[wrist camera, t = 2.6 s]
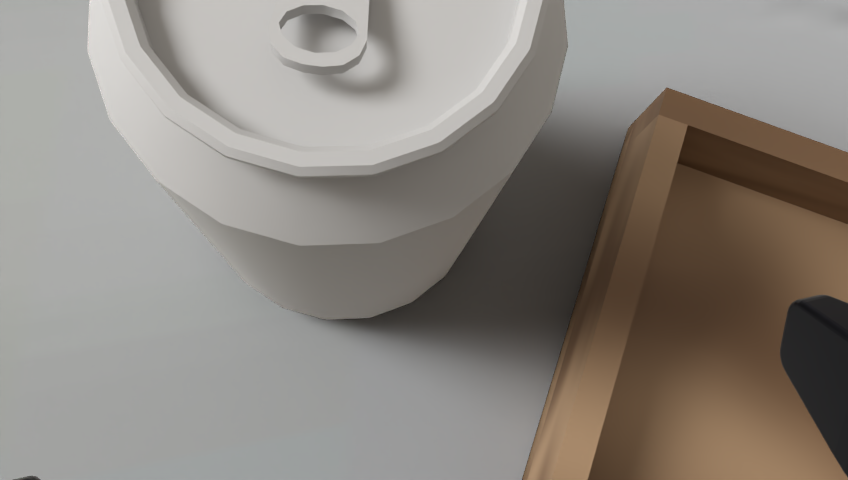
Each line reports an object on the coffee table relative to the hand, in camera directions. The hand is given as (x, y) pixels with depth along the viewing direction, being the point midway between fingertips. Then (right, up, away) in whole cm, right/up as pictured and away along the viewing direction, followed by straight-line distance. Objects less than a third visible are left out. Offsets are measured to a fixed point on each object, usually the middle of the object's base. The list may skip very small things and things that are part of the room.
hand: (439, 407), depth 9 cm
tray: (+9, -2, +13) cm, 16 cm away
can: (-2, +3, +13) cm, 14 cm away
